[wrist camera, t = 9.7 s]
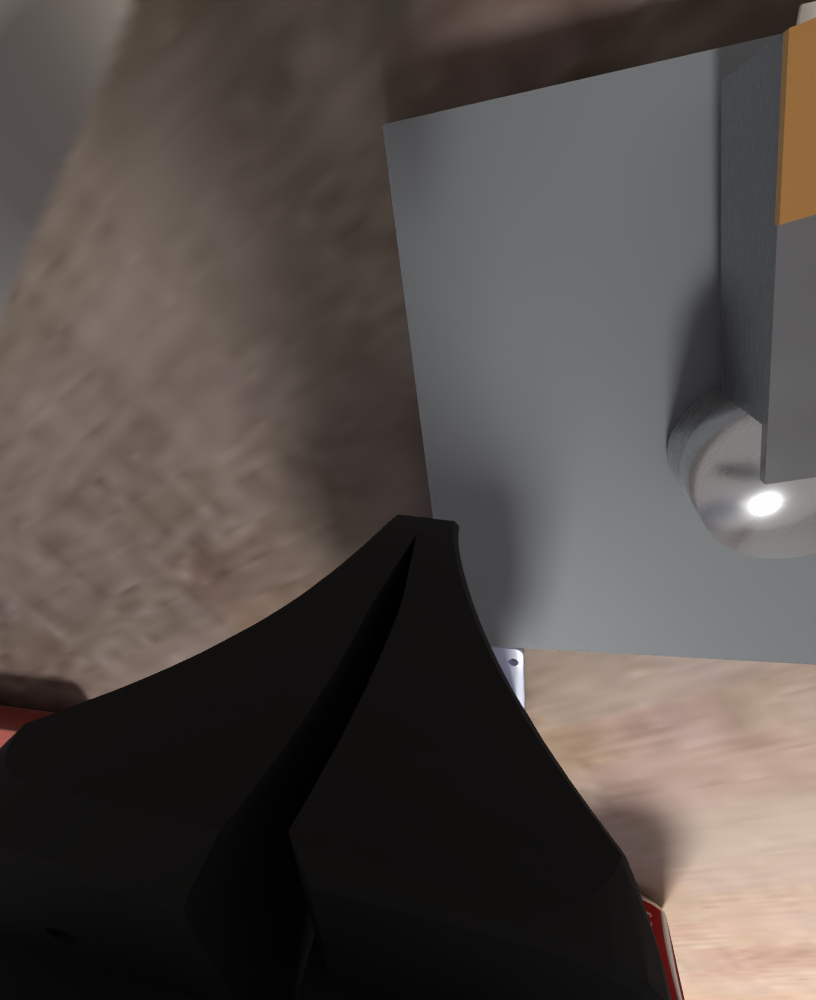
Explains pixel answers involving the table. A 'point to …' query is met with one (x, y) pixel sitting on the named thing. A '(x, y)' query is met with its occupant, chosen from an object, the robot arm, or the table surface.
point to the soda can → (664, 946)
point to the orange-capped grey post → (762, 316)
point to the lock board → (582, 361)
